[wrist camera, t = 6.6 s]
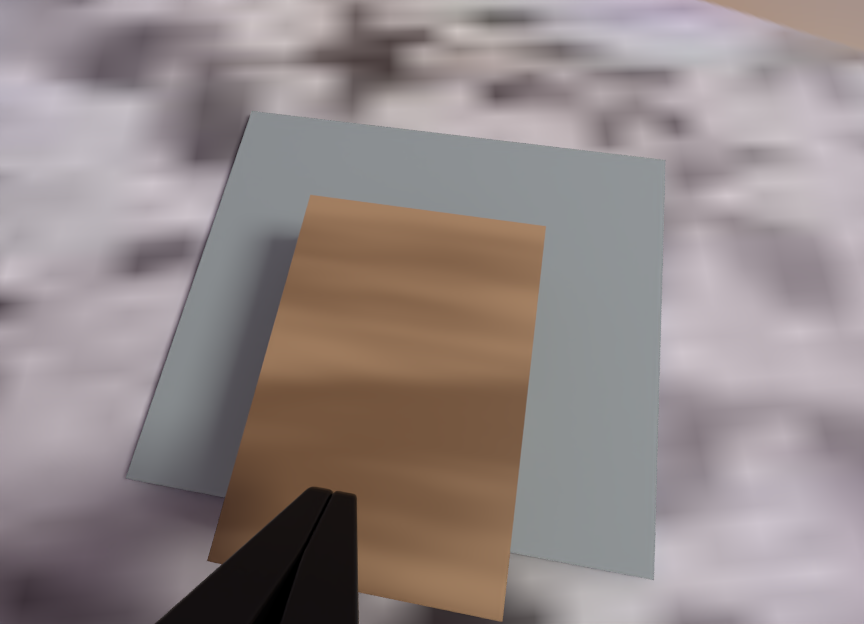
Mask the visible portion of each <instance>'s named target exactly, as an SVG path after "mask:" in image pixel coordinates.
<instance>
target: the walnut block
mask: <svg viewBox="0 0 864 624" xmlns="http://www.w3.org/2000/svg"><path fill="white" fill-rule="evenodd" d="M545 231H546V226H541V225H533V224H526V223H518V222H511V221H503V220H496V219H488V218H481V217H473V216H466V215H458V214H451V213H443V212H436V211H428V210H421V209H413V208H406V207H398V206H391V205H383V204H376V203H368V202H361V201H353V200H346V199H338V198H331V197H323V196H316V195H310V198H309V201H308V205H307V208H306V212H305V216H304V219H303V223H302V226H301V230H300V233H299V237H298V240H297V244H296V247H295V251H294V255H293V258H292V262H291V265H290V269H289V272H288V276H287V279H286V283H285V287H284V290H283V294H282V297H281V301H280V304H279V308H278V311H277V315H276V318H275V322H274V326H273V329H272V333H271V336H270V340H269V343H268V347H267V350H266V354H265V358H264V361H263V365H262V368H261V372H260V375H259V379H258V382H257V386H256V390H255V393H254V397H253V400H252V404H251V407H250V411H249V414H248V418H247V421H246V425H245V429H244V432H243V436H242V439H241V443H240V446H239V450H238V453H237V457H236V461H235V464H234V468H233V471H232V475H231V478H230V482H229V485H228V489H227V492H226V496H225V500H224V503H223V507H222V510H221V514H220V517H219V521H218V524H217V528H216V532H215V535H214V539H213V542H212V546H211V549H210V553H209V556H208V560H207V561H209V562H214V563H219V564H223V563H224V562H225V561H226V560H227V559H229V558H230V557H231V556H232V555H233V554H234V553H235V552H236V551H238V550H239V549H240V548H241V547H242V546H243V545H244V544H245V543H247V542H248V541H249V540H250V539H251V538H252V537H253V536H254V535H256V534H257V533H258V532H259V531H260V530H261V529H262V528H263V527H265V526H266V525H267V524H268V523H269V522H270V521H271V520H273V519H274V518H275V517H276V516H277V515H278V514H279V513H280V512H282V511H283V510H284V509H285V508H286V507H287V506H288V505H289V504H291V503H292V502H293V501H294V500H295V499H296V498H297V497H298V496H300V495H301V494H302V493H303V492H304V491H305V490H306V489H308V488H309V487H312V486H315V487H321V488H326V489H330V490H332V491H333V493H334V492H335V491H342V492H348V493H353V494H355V495H356V496H357V536H358V592H360V593H365V594H370V595H375V596H380V597H385V598H389V599H394V600H399V601H404V602H409V603H414V604H419V605H424V606H428V607H433V608H438V609H443V610H448V611H453V612H458V613H462V614H467V615H472V616H477V617H482V618H487V619H492V620H497V621H501V622H502V620H503V611H504V602H505V593H506V584H507V575H508V566H509V557H510V548H511V539H512V530H513V521H514V512H515V502H516V493H517V484H518V475H519V466H520V457H521V448H522V439H523V430H524V421H525V412H526V403H527V394H528V385H529V376H530V367H531V358H532V349H533V340H534V331H535V321H536V312H537V303H538V294H539V285H540V276H541V267H542V258H543V249H544V240H545Z"/></svg>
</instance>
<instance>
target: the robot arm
mask: <svg viewBox="0 0 864 624" xmlns="http://www.w3.org/2000/svg"><path fill="white" fill-rule="evenodd" d="M155 624H359V610H358V536H357V496H356V495H355V494H353V493H348V492H342V491H335V492H334V493H333V491H332V490H330V489H326V488H321V487H315V486H312V487H309V488H308V489H306V490H305V491H304V492H303V493H302V494H301V495H300V496H298V497H297V498H296V499H295V500H294V501H293V502H292V503H291V504H289V505H288V506H287V507H286V508H285V509H284V510H283V511H282V512H280V513H279V514H278V515H277V516H276V517H275V518H274V519H273V520H271V521H270V522H269V523H268V524H267V525H266V526H265V527H263V528H262V529H261V530H260V531H259V532H258V533H257V534H256V535H254V536H253V537H252V538H251V539H250V540H249V541H248V542H247V543H245V544H244V545H243V546H242V547H241V548H240V549H239V550H238V551H236V552H235V553H234V554H233V555H232V556H231V557H230V558H229V559H227V560H226V561H225V562H224V563H223V564H222V565H221V566H220V567H218V568H217V569H216V570H215V571H214V572H213V573H212V574H210V575H209V576H208V577H207V578H206V579H205V580H204V581H203V582H201V583H200V584H199V585H198V586H197V587H196V588H195V589H194V590H192V591H191V592H190V593H189V594H188V595H187V596H186V597H185V598H183V599H182V600H181V601H180V602H179V603H178V604H177V605H176V606H174V607H173V608H172V609H171V610H170V611H169V612H168V613H166V614H165V615H164V616H163V617H162V618H161V619H160V620H159V621H157V622H156V623H155Z"/></svg>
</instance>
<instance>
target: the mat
mask: <svg viewBox="0 0 864 624" xmlns="http://www.w3.org/2000/svg"><path fill="white" fill-rule="evenodd" d="M310 195H316V196H323V197H331V198H338V199H346V200H353V201H361V202H368V203H376V204H383V205H391V206H398V207H406V208H413V209H421V210H428V211H436V212H443V213H451V214H458V215H466V216H473V217H481V218H488V219H496V220H503V221H511V222H518V223H526V224H533V225H541V226H546V231H545V240H544V249H543V258H542V267H541V276H540V285H539V294H538V303H537V312H536V321H535V331H534V340H533V349H532V358H531V367H530V376H529V385H528V394H527V403H526V412H525V421H524V430H523V439H522V448H521V457H520V466H519V475H518V484H517V493H516V502H515V512H514V521H513V530H512V539H511V548H510V553H516V554H521V555H526V556H531V557H536V558H542V559H547V560H552V561H557V562H562V563H568V564H573V565H578V566H583V567H588V568H594V569H599V570H604V571H609V572H614V573H620V574H625V575H630V576H635V577H640V578H646V579H651V580H654V556H655V520H656V484H657V448H658V412H659V376H660V340H661V304H662V268H663V232H664V196H665V160H661V159H652V158H644V157H635V156H627V155H618V154H610V153H602V152H593V151H585V150H576V149H568V148H559V147H551V146H543V145H534V144H526V143H517V142H509V141H500V140H492V139H484V138H475V137H467V136H458V135H450V134H441V133H433V132H425V131H416V130H408V129H399V128H391V127H382V126H374V125H366V124H357V123H349V122H340V121H332V120H323V119H315V118H307V117H298V116H290V115H281V114H273V113H264V112H256V111H252V112H251V115H250V118H249V121H248V124H247V127H246V130H245V133H244V135H243V138H242V141H241V144H240V147H239V150H238V153H237V156H236V159H235V162H234V165H233V167H232V170H231V173H230V176H229V179H228V182H227V185H226V188H225V191H224V194H223V197H222V199H221V202H220V205H219V208H218V211H217V214H216V217H215V220H214V223H213V226H212V229H211V231H210V234H209V237H208V240H207V243H206V246H205V249H204V252H203V255H202V258H201V261H200V263H199V266H198V269H197V272H196V275H195V278H194V281H193V284H192V287H191V290H190V292H189V295H188V298H187V301H186V304H185V307H184V310H183V313H182V316H181V319H180V322H179V324H178V327H177V330H176V333H175V336H174V339H173V342H172V345H171V348H170V351H169V354H168V356H167V359H166V362H165V365H164V368H163V371H162V374H161V377H160V380H159V383H158V386H157V388H156V391H155V394H154V397H153V400H152V403H151V406H150V409H149V412H148V415H147V418H146V420H145V423H144V426H143V429H142V432H141V435H140V438H139V441H138V444H137V447H136V450H135V452H134V455H133V458H132V461H131V464H130V467H129V470H128V473H127V476H126V479H131V480H136V481H141V482H147V483H152V484H157V485H162V486H167V487H173V488H178V489H183V490H188V491H193V492H199V493H204V494H209V495H214V496H219V497H225V496H226V492H227V489H228V485H229V482H230V478H231V475H232V471H233V468H234V464H235V461H236V457H237V453H238V450H239V446H240V443H241V439H242V436H243V432H244V429H245V425H246V421H247V418H248V414H249V411H250V407H251V404H252V400H253V397H254V393H255V390H256V386H257V382H258V379H259V375H260V372H261V368H262V365H263V361H264V358H265V354H266V350H267V347H268V343H269V340H270V336H271V333H272V329H273V326H274V322H275V318H276V315H277V311H278V308H279V304H280V301H281V297H282V294H283V290H284V287H285V283H286V279H287V276H288V272H289V269H290V265H291V262H292V258H293V255H294V251H295V247H296V244H297V240H298V237H299V233H300V230H301V226H302V223H303V219H304V216H305V212H306V208H307V205H308V201H309V198H310Z"/></svg>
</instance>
